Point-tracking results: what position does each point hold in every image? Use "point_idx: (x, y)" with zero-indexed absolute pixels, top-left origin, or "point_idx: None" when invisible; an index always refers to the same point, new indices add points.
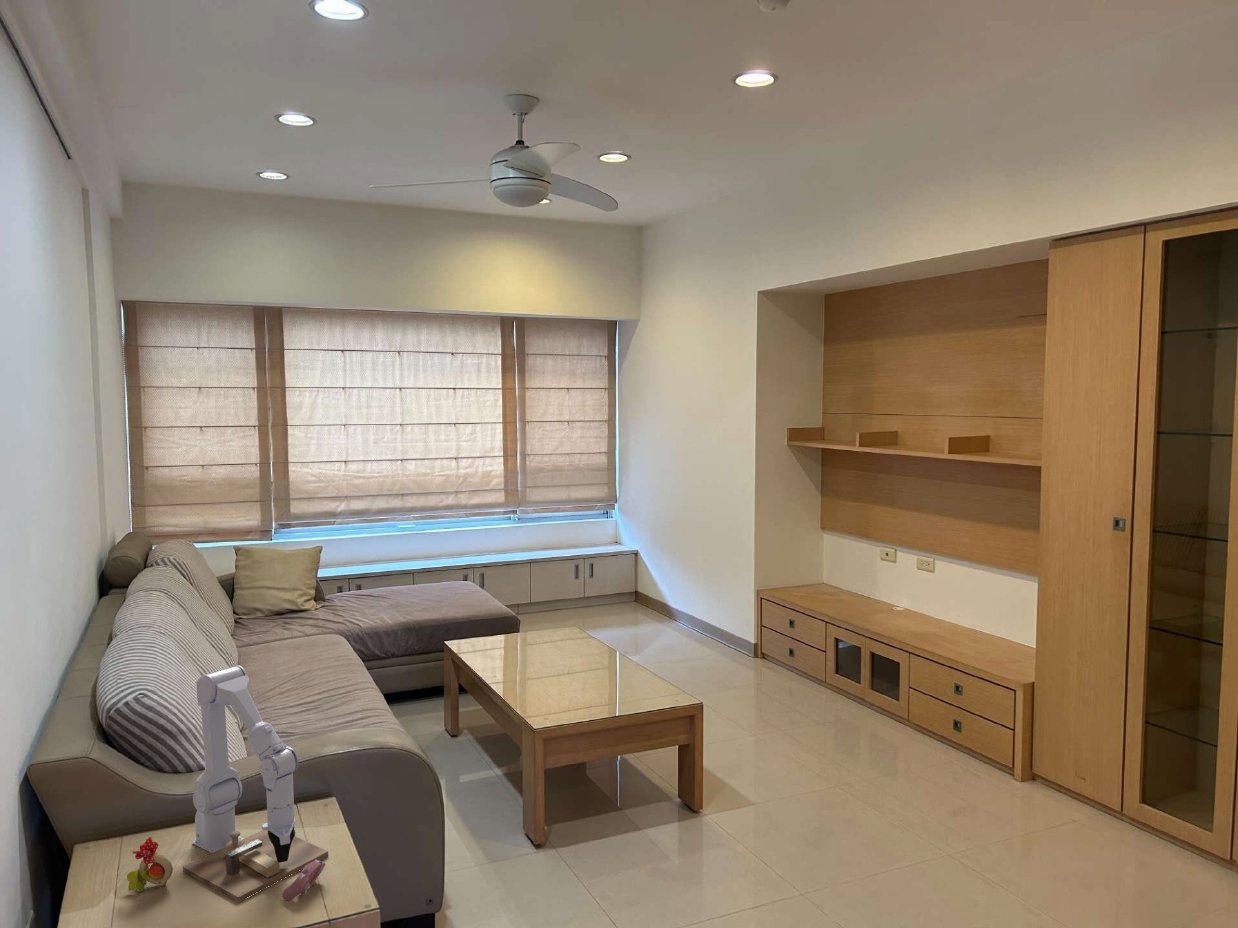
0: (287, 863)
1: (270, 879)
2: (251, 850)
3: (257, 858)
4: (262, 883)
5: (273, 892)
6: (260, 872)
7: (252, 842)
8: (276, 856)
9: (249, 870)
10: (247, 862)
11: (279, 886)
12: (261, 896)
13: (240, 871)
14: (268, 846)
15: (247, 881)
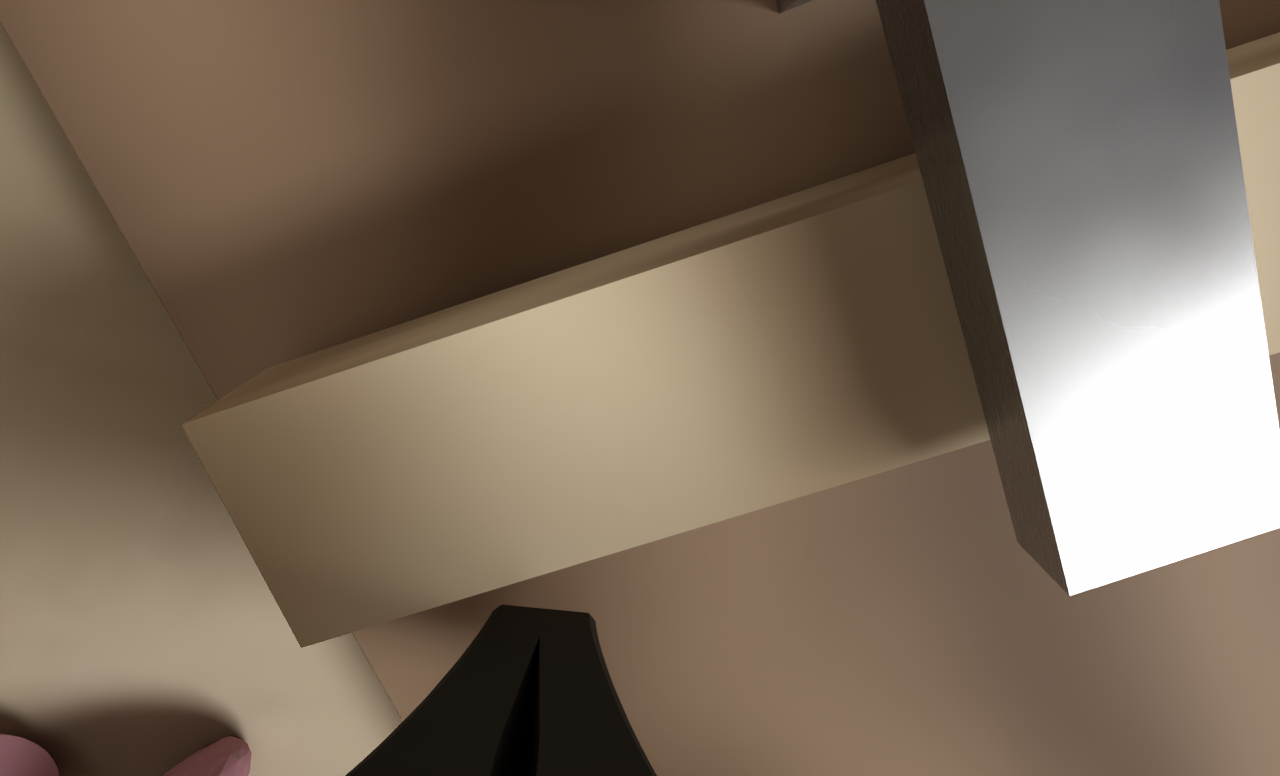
0: None
1: None
2: (957, 295)
3: (692, 346)
4: (189, 264)
5: (50, 355)
6: (462, 305)
7: (1209, 391)
8: (458, 660)
9: (727, 174)
10: (876, 174)
11: (180, 455)
12: (4, 187)
13: (790, 29)
14: (1264, 574)
15: (373, 62)
